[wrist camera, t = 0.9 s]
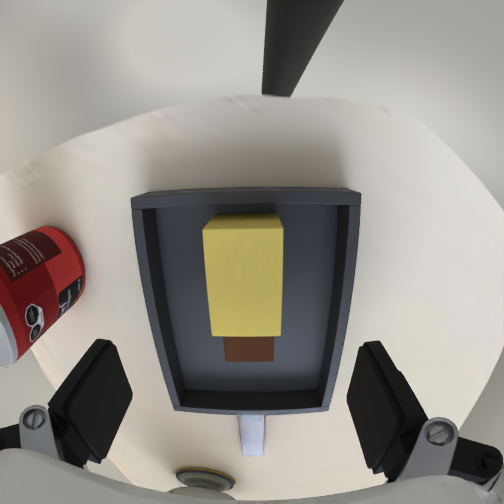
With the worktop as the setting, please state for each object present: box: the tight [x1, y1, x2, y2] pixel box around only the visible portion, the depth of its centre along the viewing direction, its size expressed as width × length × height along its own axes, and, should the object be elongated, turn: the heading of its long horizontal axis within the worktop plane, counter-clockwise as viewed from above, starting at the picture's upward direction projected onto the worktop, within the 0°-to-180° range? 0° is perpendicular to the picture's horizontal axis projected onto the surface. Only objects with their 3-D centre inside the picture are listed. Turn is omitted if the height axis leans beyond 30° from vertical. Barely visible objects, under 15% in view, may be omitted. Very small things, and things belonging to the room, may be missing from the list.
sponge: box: [202, 213, 283, 337], centre depth 18 cm, size 7×4×4 cm, turn 1°
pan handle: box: [238, 415, 264, 456], centre depth 25 cm, size 11×3×3 cm, turn 1°
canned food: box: [0, 227, 85, 368], centre depth 16 cm, size 8×8×11 cm
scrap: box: [223, 336, 274, 362], centre depth 22 cm, size 4×4×1 cm
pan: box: [131, 187, 361, 415], centre depth 21 cm, size 20×15×3 cm
